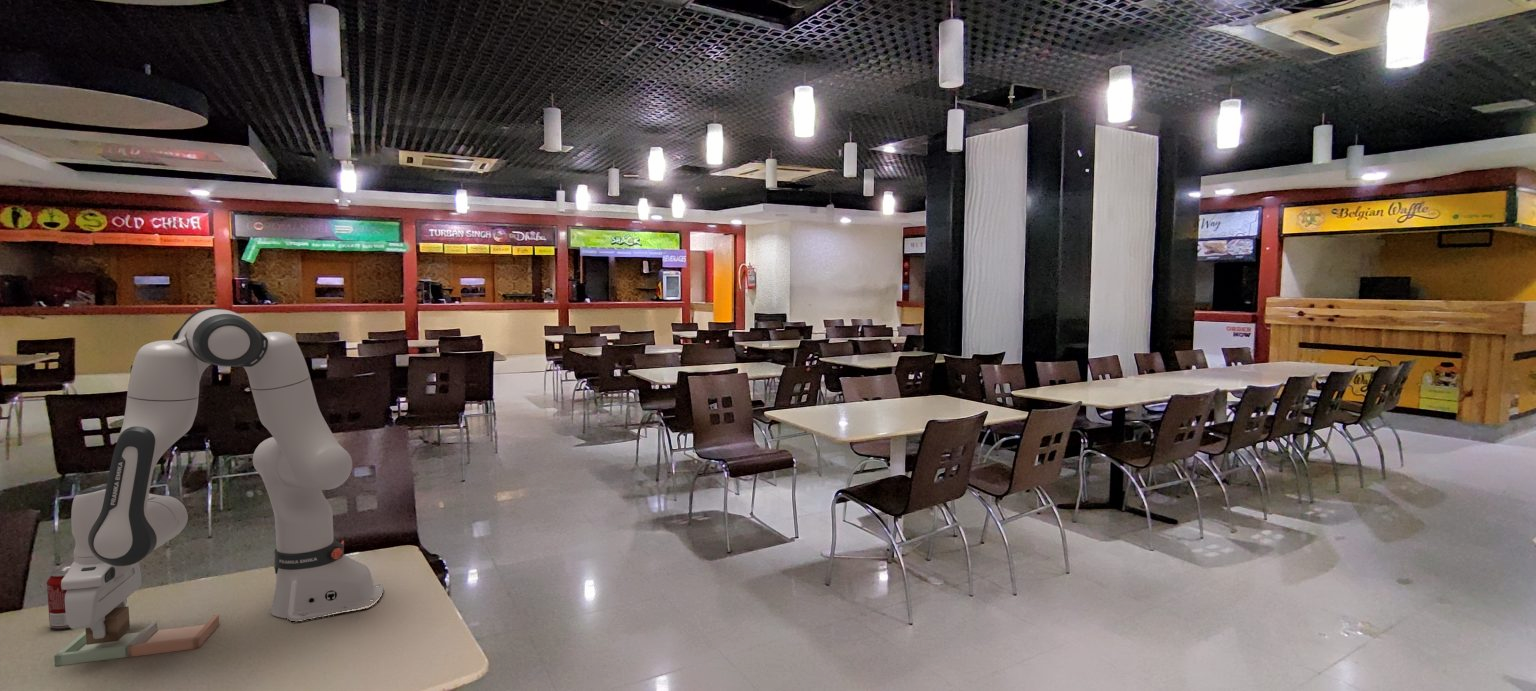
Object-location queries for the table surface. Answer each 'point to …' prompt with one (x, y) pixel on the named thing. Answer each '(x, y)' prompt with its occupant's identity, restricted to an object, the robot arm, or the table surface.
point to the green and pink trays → (137, 643)
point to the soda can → (57, 599)
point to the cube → (112, 626)
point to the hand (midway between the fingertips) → (109, 629)
